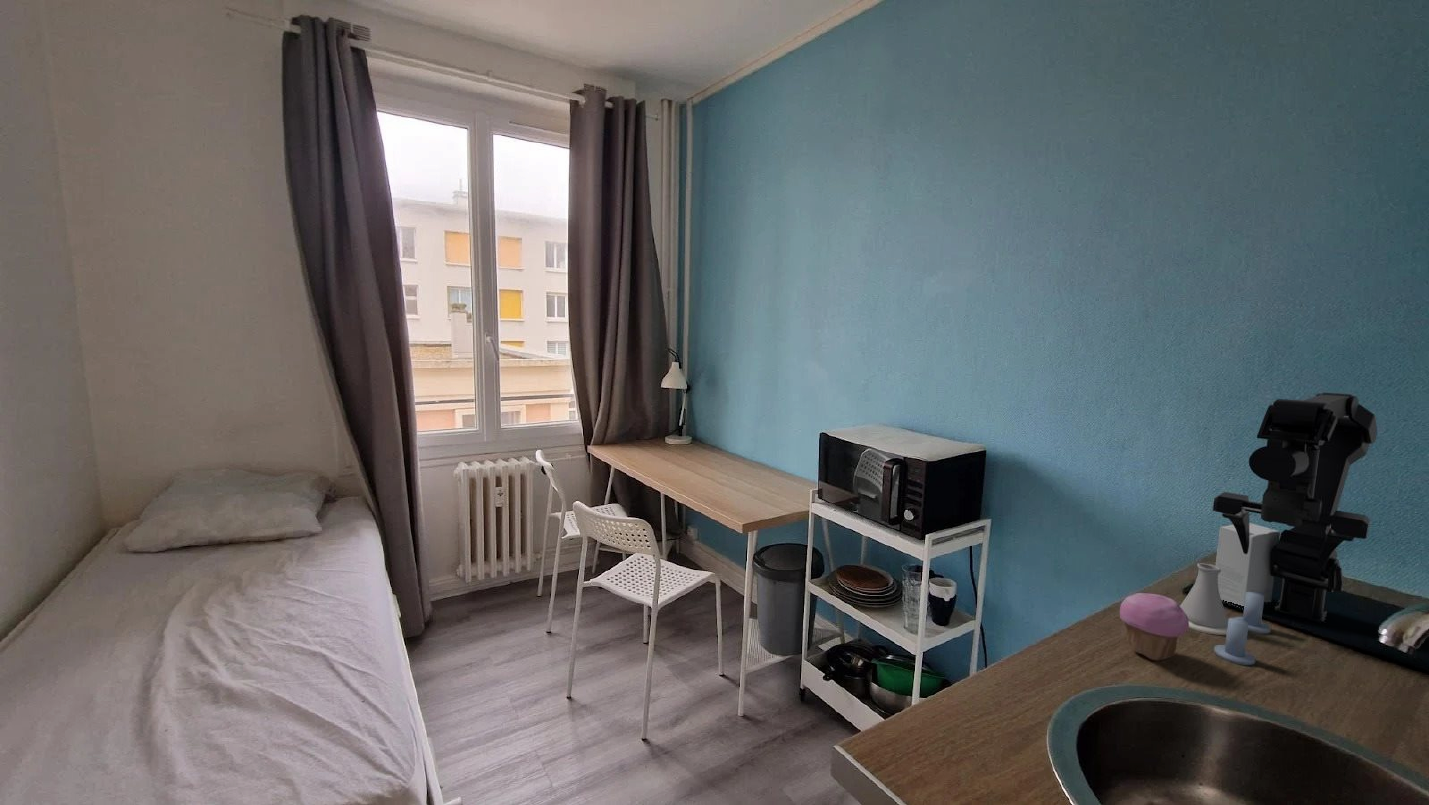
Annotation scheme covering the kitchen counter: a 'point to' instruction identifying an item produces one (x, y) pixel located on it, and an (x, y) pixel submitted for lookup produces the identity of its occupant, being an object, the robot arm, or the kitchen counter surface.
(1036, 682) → the kitchen counter surface
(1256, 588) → the skincare box
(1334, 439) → the robot arm
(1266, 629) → the pair of blue pegs
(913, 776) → the kitchen counter surface
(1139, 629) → the cupcake
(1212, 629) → the cream round disc
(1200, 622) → the flask
